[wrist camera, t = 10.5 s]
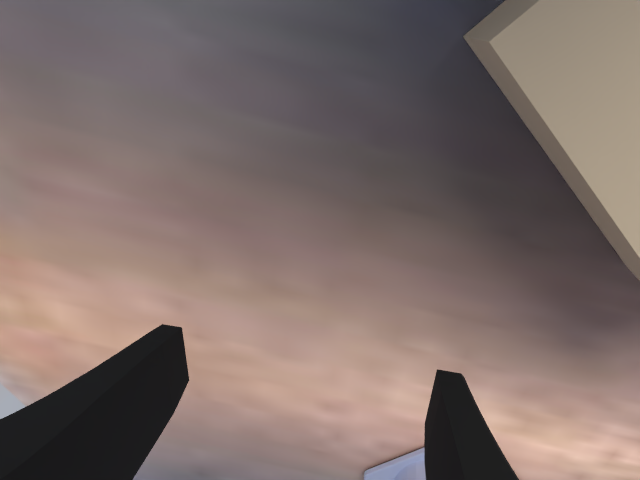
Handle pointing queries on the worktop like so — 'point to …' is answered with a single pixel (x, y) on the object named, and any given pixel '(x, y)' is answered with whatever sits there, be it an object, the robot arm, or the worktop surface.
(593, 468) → the worktop surface
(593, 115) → the carton
